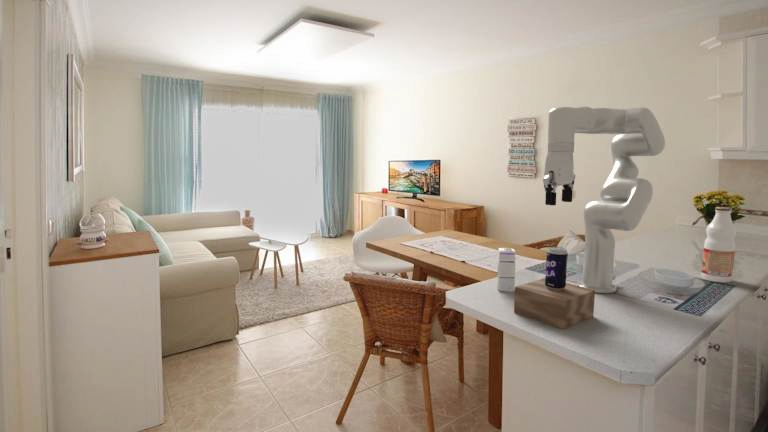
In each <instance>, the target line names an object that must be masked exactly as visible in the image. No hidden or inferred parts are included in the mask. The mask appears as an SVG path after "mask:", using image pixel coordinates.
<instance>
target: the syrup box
mask: <svg viewBox="0 0 768 432" xmlns="http://www.w3.org/2000/svg"><path fill="white" fill-rule="evenodd" d="M496 280H497V282H496V284H497V285H496V286H497V287H496V288H497V291H498V292H506V293H507V292H511V293H515V287H516V250H515V248H512V247H498V248H497V279H496Z"/></svg>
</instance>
